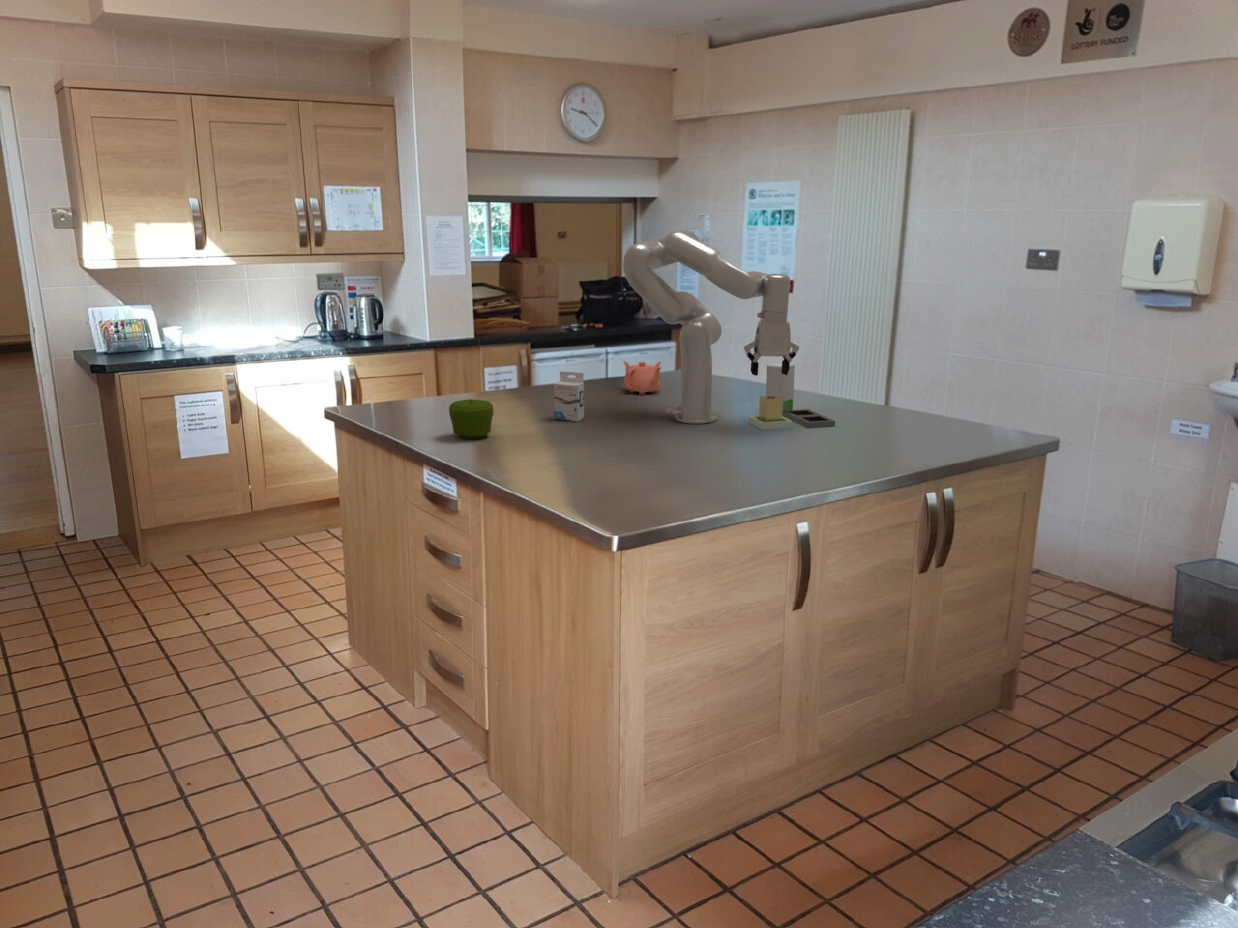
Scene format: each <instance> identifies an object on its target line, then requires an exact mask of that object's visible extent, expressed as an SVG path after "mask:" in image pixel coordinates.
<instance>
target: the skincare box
mask: <svg viewBox="0 0 1238 928" xmlns="http://www.w3.org/2000/svg"><path fill="white" fill-rule="evenodd" d="M795 365H796V364H795V363H790V365H789V372H788V375H784V374H782V373H781V370H782V362H781V363H780V362H777V363H771V364H766V382H765V383H766V385H765V396H777V397H779V398H782V411H786V410H794V393H795V390H794V389H795V368H796V366H795ZM782 411H781V415H782Z"/></svg>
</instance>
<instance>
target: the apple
mask: <svg viewBox="0 0 1238 928" xmlns="http://www.w3.org/2000/svg"><path fill="white" fill-rule="evenodd" d="M448 413H449V418H450V420H451V424H452V431H453V434H454V435H456V436H458V437H460V438H461V439H480V437H481V438H484V437H485V436H486V435H488V434H489V433H491V429H492V421H493V417H494V405H493V404H492V403H491V402H490V401H488V400H480V399H471V398H469V399H462V400H461V399H460V400H456V401H453V402H452V403H451V404H450V405H449V406H448ZM483 436H484V437H483Z"/></svg>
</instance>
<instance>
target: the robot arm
mask: <svg viewBox="0 0 1238 928" xmlns="http://www.w3.org/2000/svg"><path fill="white" fill-rule="evenodd" d="M622 261H623V263H622V270H623V274H624V277H625V279H626V281H627V283H628V284H629V286H630V287H631V288H632V289H633V290H634V291H635V292H636V294H638V295H639V296H640V297H641V298H642V300H644V301H645V303H647V304H648V306H649V307H650V308H651V309H652V310H653V312H655V313H656V314H657V315H658V316H659V317H660V318H661V319H662V320H663V321H664V322H665V323H667V324H669V325H677V324H680V325H681V328H680V331H679V337H678V338H679V346H680V347H679V348H680V404H677V406H676V407H675V406H674V407H673V408H670V407H669V408H668V407H667V408H665V409H664V410H665V412H664V413H665V415H672V416H675V417H674V418H675V421H676V422H680V423H684V424H696V425H697V424H699V425H700V424H708V423H714V422H715V421H716V420H717V415H715V414H714V413H713V414H712V385H713V384H712V383H713V382H712V381H713V379H712V378H713V377H712V376H713V356H712V347H711V346H712V345H714V344H715V343H717V342H718V341H719V339H720V338H721V336H722V326H721V323H720V322H719V319H718V318H717V317H716V316H715V315H714V314H713V313H712V312H711V311H710V310H709V309H708V308H707V307H706V306H705V305H704V304H703V303H702V302H701V301H700V300H699V299H698V298H697V297H696V296H694V295H693V294H692V293H690V292H688V291H684V290H683V291H682V290H681V291H676V290H674V288H672V287H671V286H670V285H669V284H668V282H666V281H665V280H664V278H662V277H661V276H660V275H659V274H657V273H655V271H654V270H655V269H660V268H663V267H666V266H669V265H671V264H676V263H679V264H681V265H682V266H685V267H687V268H688V269H690V270H692V271H694V272H696V273H698V274H699V275H702V276H703V277H704V278H705V279H707V280H708V281H709V282H710V283H712V284H713V285H714V286H716V287H717V288H719V289H721V290H723V291H724V292H726V293H728V294H730V295H732V296H733V297H736V298H738V299H741V300H750V299H752V298H758V297H762V304H761V310H760V312H758V313H757V314H756V316H757V318H760V320H759V321H758V323H757V327H756V331H755V337H754V341H752V342H750V343H748V344H747V345H745V346H744V347H743V350H744V352H745V354H746V356H747V358H748V359H749V361H751V363H750V372H751V374H752V376H759V375H758V374H759V363H760V362H759V359H761V357H782V362H781V363H782V370H781V373H782V374H784V375H788V372H789V365H790V364H791V362H792V360H793V359H794V358H795V356H797V353H798V352H799V350H800V347H799V345H797V344H795V343H793V342H792V340H791V339H792V336H791V335H792V334H791V333H792V332H791V324H790V322H789V321H788V314H789V312H788V311H789V301H790V300H789V299H790V290H791V289H790V288H791V287H790V286H791V278H790V276H789V275H787V274H783V273H766V272H761V271H754V270H753V271H749V272H748V271H747V272H745V271H744V270H741V269H739V268H738V267H736V266H735V265H732V264H731V263H729V262H728V261H726V260H725V259H724V258H723V256H722V254H721V252H720V251H719V249H716V248H715V247H713V246H711V245H709V244H707V243H706V242H703V241H701V240H700V239H699V237H698V235H696V234H695V233H694V232H693V231H691V230H688V229H680V230H672V231H670V232H669V233H668V234H667V235H666V236H665V237H662V238H658V239H656V240H651V241H640V242H637V243H636V242H635V243H634V244H632V245H631V246H629V247H628V249H627V250H626V252H625V254H624V256H623V260H622ZM752 349H753V352H754V353H752V352H751V350H752Z"/></svg>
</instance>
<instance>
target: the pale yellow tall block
mask: <svg viewBox="0 0 1238 928" xmlns="http://www.w3.org/2000/svg"><path fill="white" fill-rule="evenodd" d="M758 411H759V412H758V416H759V420H760V421H762V422H776V421H781V416H782V414H781V411H782V398H779V397H777V396H766V395H765V396H764V395H763V396H761V395H760V396H759V410H758Z"/></svg>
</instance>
